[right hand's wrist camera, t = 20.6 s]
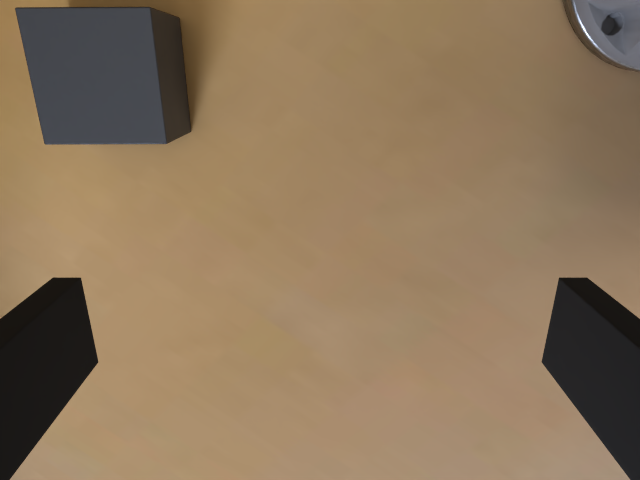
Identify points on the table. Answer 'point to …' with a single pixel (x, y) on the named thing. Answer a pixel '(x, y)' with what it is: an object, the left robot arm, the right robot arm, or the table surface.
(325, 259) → the table surface
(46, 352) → the right robot arm
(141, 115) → the cap block
